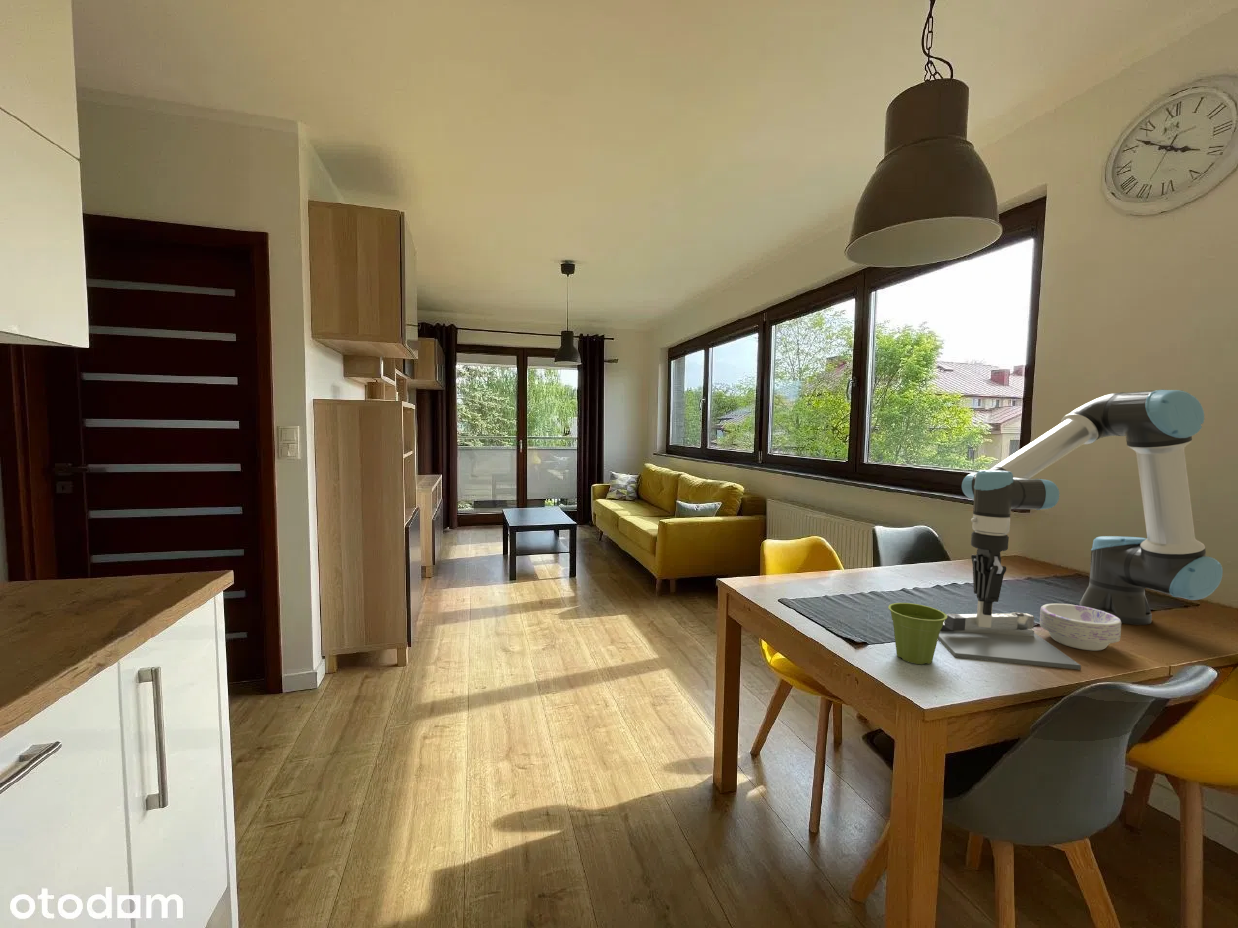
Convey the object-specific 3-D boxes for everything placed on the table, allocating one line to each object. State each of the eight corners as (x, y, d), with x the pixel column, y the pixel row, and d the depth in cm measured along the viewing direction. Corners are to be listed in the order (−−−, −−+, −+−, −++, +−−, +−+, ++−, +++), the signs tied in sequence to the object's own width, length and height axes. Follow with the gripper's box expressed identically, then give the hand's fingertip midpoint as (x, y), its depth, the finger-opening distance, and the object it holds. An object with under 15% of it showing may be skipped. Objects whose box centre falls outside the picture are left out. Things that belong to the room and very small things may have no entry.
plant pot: (954, 672, 114) (957, 622, 114) (895, 667, 117) (898, 617, 116) (931, 649, 126) (934, 604, 125) (879, 645, 128) (881, 600, 127)
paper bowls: (1024, 636, 135) (1027, 606, 135) (1060, 628, 141) (1063, 599, 140) (1096, 660, 121) (1099, 627, 121) (1133, 651, 127) (1136, 619, 126)
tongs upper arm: (1023, 624, 136) (1024, 610, 136) (1035, 629, 132) (1036, 615, 132) (943, 625, 134) (944, 611, 134) (953, 631, 131) (954, 617, 130)
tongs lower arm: (1027, 632, 135) (1028, 626, 135) (1034, 637, 132) (1035, 630, 132) (935, 626, 138) (935, 620, 138) (940, 630, 135) (940, 624, 135)
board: (1029, 633, 137) (1030, 629, 137) (1080, 669, 117) (1080, 665, 116) (924, 624, 143) (924, 620, 142) (955, 657, 122) (955, 652, 122)
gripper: (962, 527, 136) (956, 615, 138) (985, 536, 124) (978, 633, 125) (994, 529, 135) (988, 618, 136) (1021, 538, 122) (1014, 637, 124)
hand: (983, 626), depth 131 cm, fingers closed
